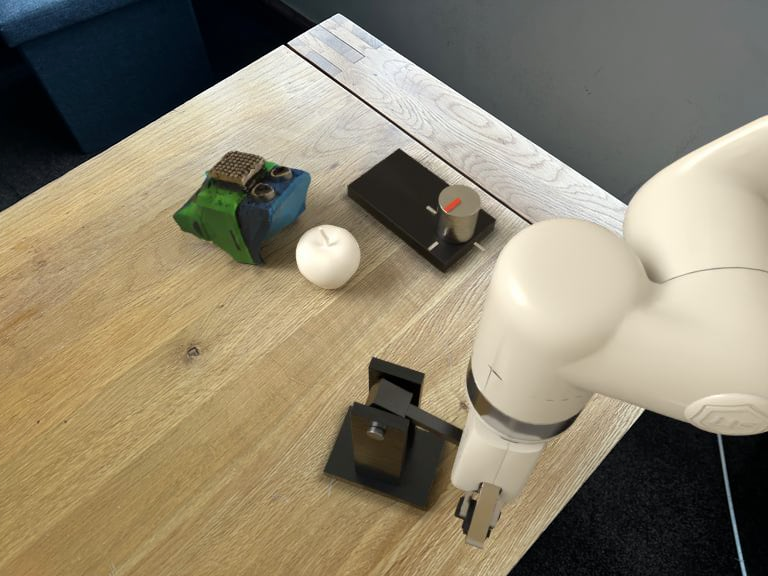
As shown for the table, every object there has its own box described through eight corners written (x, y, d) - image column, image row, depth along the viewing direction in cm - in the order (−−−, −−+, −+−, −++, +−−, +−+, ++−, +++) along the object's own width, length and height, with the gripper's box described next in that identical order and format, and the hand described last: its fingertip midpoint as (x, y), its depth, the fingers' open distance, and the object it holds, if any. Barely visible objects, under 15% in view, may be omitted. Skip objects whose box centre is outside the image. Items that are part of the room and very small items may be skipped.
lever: (501, 436, 56) (516, 430, 54) (487, 487, 54) (503, 483, 52) (376, 373, 54) (387, 364, 52) (357, 423, 52) (367, 416, 50)
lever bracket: (445, 441, 65) (463, 373, 51) (424, 511, 61) (437, 456, 48) (350, 409, 66) (343, 335, 53) (323, 475, 63) (310, 412, 50)
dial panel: (506, 239, 78) (509, 227, 76) (455, 283, 75) (457, 273, 73) (398, 158, 85) (399, 146, 83) (347, 196, 81) (346, 184, 80)
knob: (454, 206, 78) (458, 176, 74) (483, 228, 76) (489, 199, 72) (426, 227, 76) (430, 197, 72) (456, 251, 75) (461, 222, 70)
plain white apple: (327, 239, 78) (322, 194, 71) (373, 271, 75) (373, 228, 69) (285, 277, 75) (276, 234, 68) (332, 312, 72) (328, 271, 66)
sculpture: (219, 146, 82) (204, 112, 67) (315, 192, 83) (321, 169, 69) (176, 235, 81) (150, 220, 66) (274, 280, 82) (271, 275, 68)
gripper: (502, 254, 46) (472, 362, 61) (428, 489, 37) (414, 550, 52) (609, 284, 45) (553, 387, 59) (560, 535, 36) (508, 584, 51)
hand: (488, 463), depth 56 cm, fingers open, 9 cm apart
